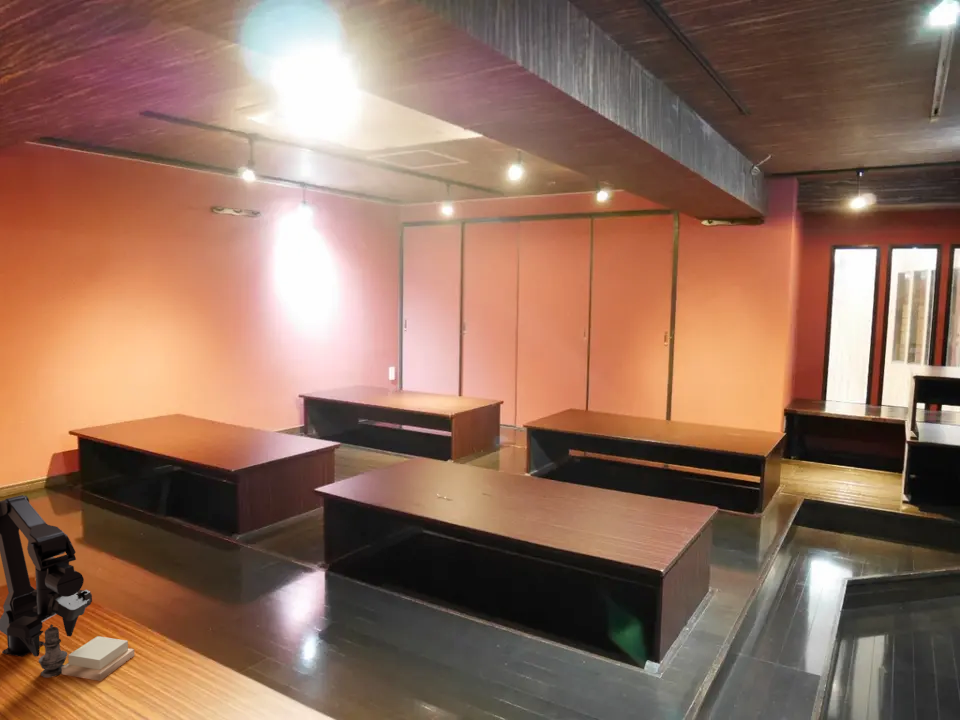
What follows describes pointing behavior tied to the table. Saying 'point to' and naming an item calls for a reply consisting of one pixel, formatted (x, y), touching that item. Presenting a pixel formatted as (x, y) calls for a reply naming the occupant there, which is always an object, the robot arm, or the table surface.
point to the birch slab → (96, 673)
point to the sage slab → (98, 652)
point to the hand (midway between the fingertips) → (53, 645)
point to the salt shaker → (52, 654)
